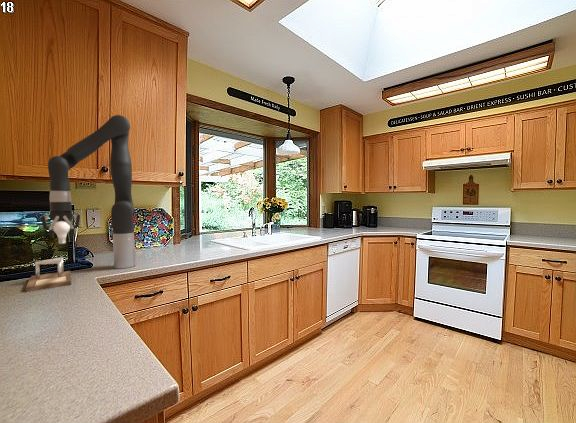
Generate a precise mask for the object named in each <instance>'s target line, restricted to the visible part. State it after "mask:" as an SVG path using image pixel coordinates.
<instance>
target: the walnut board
mask: <svg viewBox="0 0 576 423" xmlns="http://www.w3.org/2000/svg"><path fill="white" fill-rule="evenodd" d="M63 272H64V273H62V277H65V276H66V282H59V283H52V284H45V285H39V286H35V284H36V281H37V280H43V279H50V278H58V271H57V272H52V273H51V272H50V273H44V274H40V278H39V279H36V274H35V275H31V276H30V278H29V280H28V282H27V284H26V287H25V291H26V292H34V291H39V290H40V291H41V290H45V289H52V288H57V287H58V288H59V287H65V286H70V285H72V282H71V279H72V278H71V270H66V271H63Z"/></svg>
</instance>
